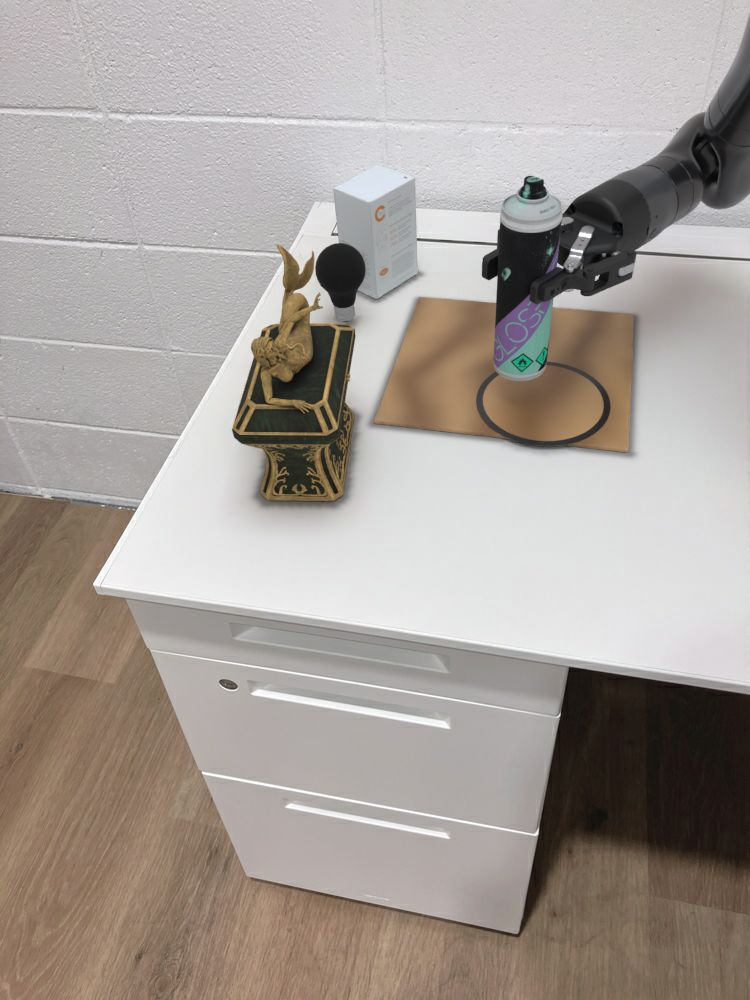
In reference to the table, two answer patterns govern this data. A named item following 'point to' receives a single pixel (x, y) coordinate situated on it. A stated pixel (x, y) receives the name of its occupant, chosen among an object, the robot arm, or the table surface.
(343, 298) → the light bulb
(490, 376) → the drawing board
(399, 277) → the small box
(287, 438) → the decorative box
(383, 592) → the table surface
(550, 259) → the spray can
